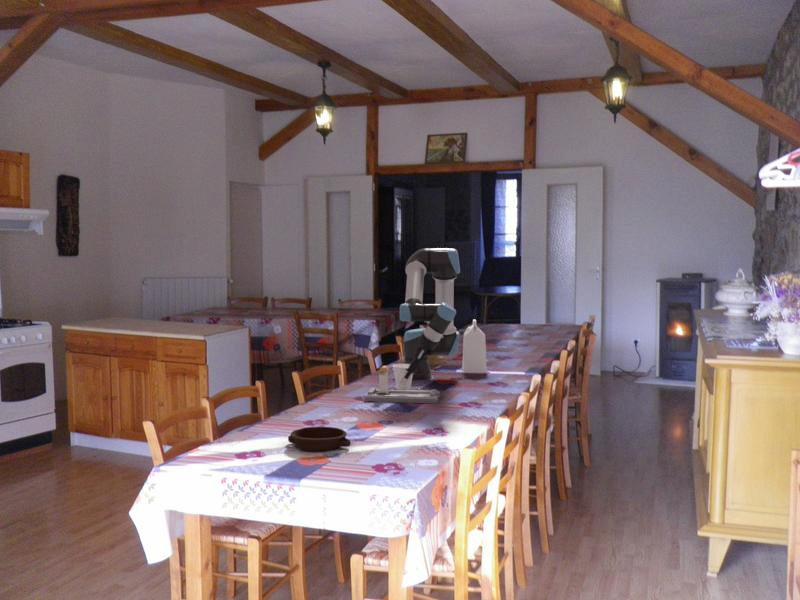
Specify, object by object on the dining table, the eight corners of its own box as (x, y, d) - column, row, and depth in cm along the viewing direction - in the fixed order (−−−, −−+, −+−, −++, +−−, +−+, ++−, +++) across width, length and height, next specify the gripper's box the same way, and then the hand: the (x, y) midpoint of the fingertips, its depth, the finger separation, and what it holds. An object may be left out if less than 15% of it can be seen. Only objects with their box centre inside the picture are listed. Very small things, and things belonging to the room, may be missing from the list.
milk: (486, 373, 395) (487, 321, 393) (463, 373, 395) (464, 321, 393) (484, 369, 407) (485, 318, 405) (462, 368, 407) (462, 318, 405)
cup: (412, 392, 346) (412, 367, 345) (390, 391, 348) (390, 367, 347) (416, 388, 355) (416, 364, 354) (395, 387, 357) (395, 363, 356)
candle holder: (431, 361, 432) (431, 317, 430) (446, 363, 424) (447, 319, 422) (418, 363, 424) (418, 319, 422) (433, 366, 416) (433, 321, 414)
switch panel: (364, 401, 327) (364, 393, 327) (370, 394, 341) (370, 386, 341) (436, 403, 323) (436, 395, 323) (439, 396, 337) (439, 388, 337)
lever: (376, 395, 330) (376, 368, 329) (379, 392, 337) (379, 364, 336) (388, 396, 329) (388, 368, 328) (390, 392, 337) (390, 365, 336)
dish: (340, 457, 246) (340, 441, 245) (276, 451, 252) (275, 436, 252) (359, 443, 263) (359, 428, 262) (298, 438, 269) (298, 423, 269)
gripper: (436, 346, 321) (407, 393, 326) (439, 339, 334) (411, 384, 339) (421, 336, 321) (392, 383, 326) (424, 329, 334) (396, 375, 339)
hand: (402, 383), depth 333 cm, fingers closed
